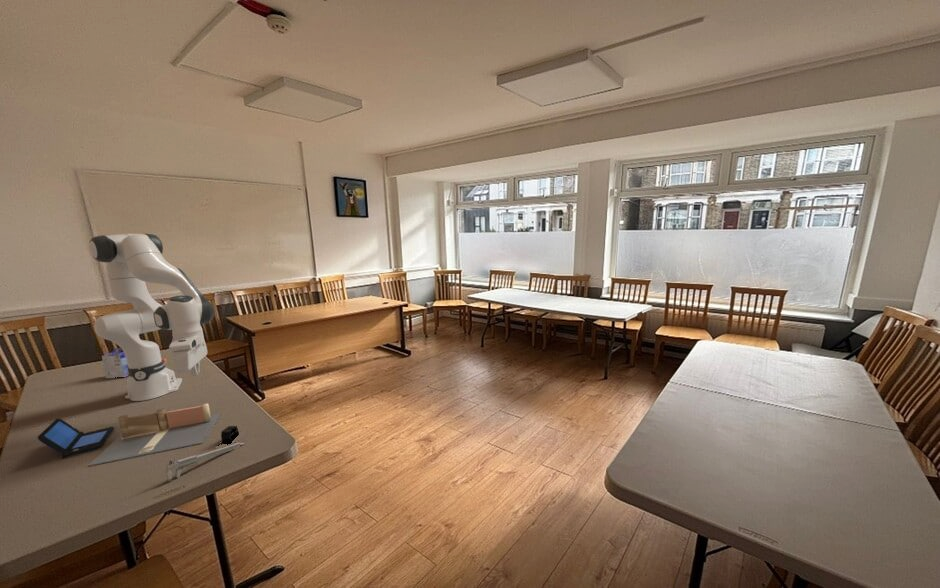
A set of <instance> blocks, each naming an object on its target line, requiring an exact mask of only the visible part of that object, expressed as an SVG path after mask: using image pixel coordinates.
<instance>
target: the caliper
mask: <svg viewBox="0 0 940 588" xmlns="http://www.w3.org/2000/svg"><path fill="white" fill-rule="evenodd" d="M242 444H244V445H245V443H244V442H238V441H237V442H235V443H234V444H232V445H229V446H226V447H223V448H216V449H214V450H210V451H209V452H206V453H205V452H204V453H202V454H198V455H191V456H188V457H185V458H182V459H177V458H176V457H174V459H173V460H172V459H169V463H167V464H166V468H165V474H166V478H167V481H168V482H172V481H173V479H172V478H173V472H174V470H175V479H179V478H180V476H181V474H182V471H183V469H184V468H190V467H193V466H197V463H198V462H201V461H204V460H207V459H210V458H213V457H216V456H219V455H222V454H224V453H228V452H230V451H231V452H232V451H234V450H236V449H237V448H236V447H238V446H240V445H242ZM242 446H243V445H242ZM240 447H241V446H240ZM235 448H236V449H235ZM238 448H239V447H238ZM233 449H234V450H233Z"/></svg>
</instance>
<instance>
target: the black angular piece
mask: <svg viewBox="0 0 940 588" xmlns="http://www.w3.org/2000/svg"><path fill="white" fill-rule="evenodd" d="M239 432H240V431H239V428H238V426H237V425H228V426H227V427H225V428H224V429H223V430H221V431H220V433H221V434H220V438H221V441H222V442H221V441H220V442H221V443H220V442H219V443H220V444H221V445H222V444H227V445H228V444H231V443H232V441H233V440H234V439H235V438H236V437H237V436H238V435H239ZM219 443H217V444H218V446H219V445H220V444H219Z"/></svg>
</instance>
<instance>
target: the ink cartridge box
mask: <svg viewBox="0 0 940 588" xmlns="http://www.w3.org/2000/svg"><path fill="white" fill-rule="evenodd" d="M121 351H122V349H121V347H119V348H118V347H117V348H113V350H112V352H110V353H107V354H104V355H101V359H102V364H103V370H104V374H105V379H118V378H117V377H125V378H127V377H129V376H128V375H129V374H128V363H127V359H126V356H125V354H124V351H122V352H121ZM126 376H127V377H126ZM115 377H116V378H115Z"/></svg>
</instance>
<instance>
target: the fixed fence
mask: <svg viewBox="0 0 940 588" xmlns="http://www.w3.org/2000/svg"><path fill="white" fill-rule="evenodd" d="M166 412H167V411H166V408H161V409H160V408H159V409H158V410H156V412H152V413H146V414H140V415H134V416H130V417H129V415H128V414H125V415H120V416H119V417H117V419H118V423H119V427H120V431H121V435H122V436H123V438H127V437H130V436H134V435H139V434H144V433H150V432H155V431H160V430H161V431H164V430H167V429H169V425H168V420H167V415H166Z"/></svg>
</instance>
